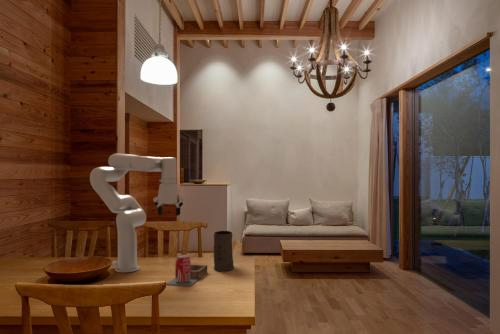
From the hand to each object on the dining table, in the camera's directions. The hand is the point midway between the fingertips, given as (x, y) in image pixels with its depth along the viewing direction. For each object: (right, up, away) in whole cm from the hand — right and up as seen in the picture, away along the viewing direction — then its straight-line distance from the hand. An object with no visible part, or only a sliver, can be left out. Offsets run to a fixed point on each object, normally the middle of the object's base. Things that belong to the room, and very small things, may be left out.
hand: (169, 215), depth 189 cm
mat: (+9, -30, -14) cm, 34 cm away
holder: (+12, -30, -2) cm, 33 cm away
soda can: (+9, -30, -14) cm, 34 cm away
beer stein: (+27, -31, +12) cm, 43 cm away
